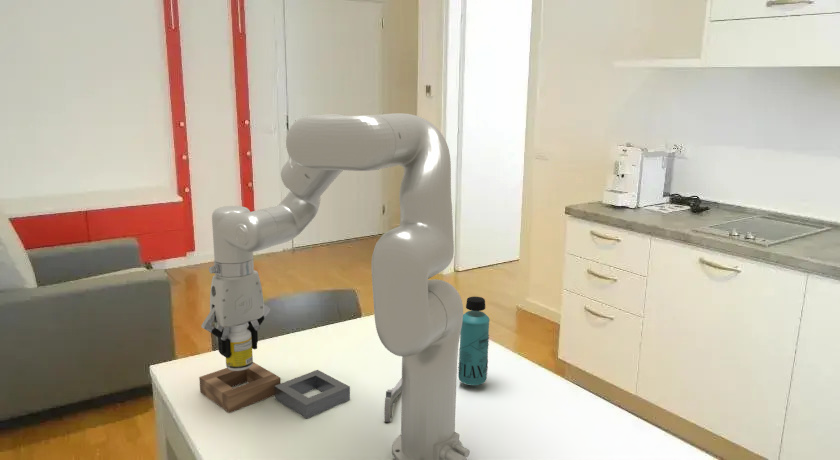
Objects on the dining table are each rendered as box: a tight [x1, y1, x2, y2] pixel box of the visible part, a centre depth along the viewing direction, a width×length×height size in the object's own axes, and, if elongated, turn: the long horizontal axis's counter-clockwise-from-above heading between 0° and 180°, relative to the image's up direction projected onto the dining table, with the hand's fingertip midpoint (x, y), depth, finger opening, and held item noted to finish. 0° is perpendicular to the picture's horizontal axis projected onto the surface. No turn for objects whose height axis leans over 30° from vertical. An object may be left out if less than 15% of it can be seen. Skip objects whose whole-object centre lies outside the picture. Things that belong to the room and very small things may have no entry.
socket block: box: [274, 369, 351, 420], centre depth 129 cm, size 11×11×3 cm
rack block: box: [198, 361, 282, 414], centre depth 131 cm, size 12×12×4 cm
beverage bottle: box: [457, 296, 491, 386], centre depth 135 cm, size 6×7×20 cm
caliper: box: [383, 377, 402, 423], centre depth 130 cm, size 20×1×6 cm, turn 170°
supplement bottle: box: [225, 322, 254, 371], centre depth 129 cm, size 5×5×10 cm
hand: (238, 350), depth 130 cm, fingers closed on supplement bottle, 5 cm apart
